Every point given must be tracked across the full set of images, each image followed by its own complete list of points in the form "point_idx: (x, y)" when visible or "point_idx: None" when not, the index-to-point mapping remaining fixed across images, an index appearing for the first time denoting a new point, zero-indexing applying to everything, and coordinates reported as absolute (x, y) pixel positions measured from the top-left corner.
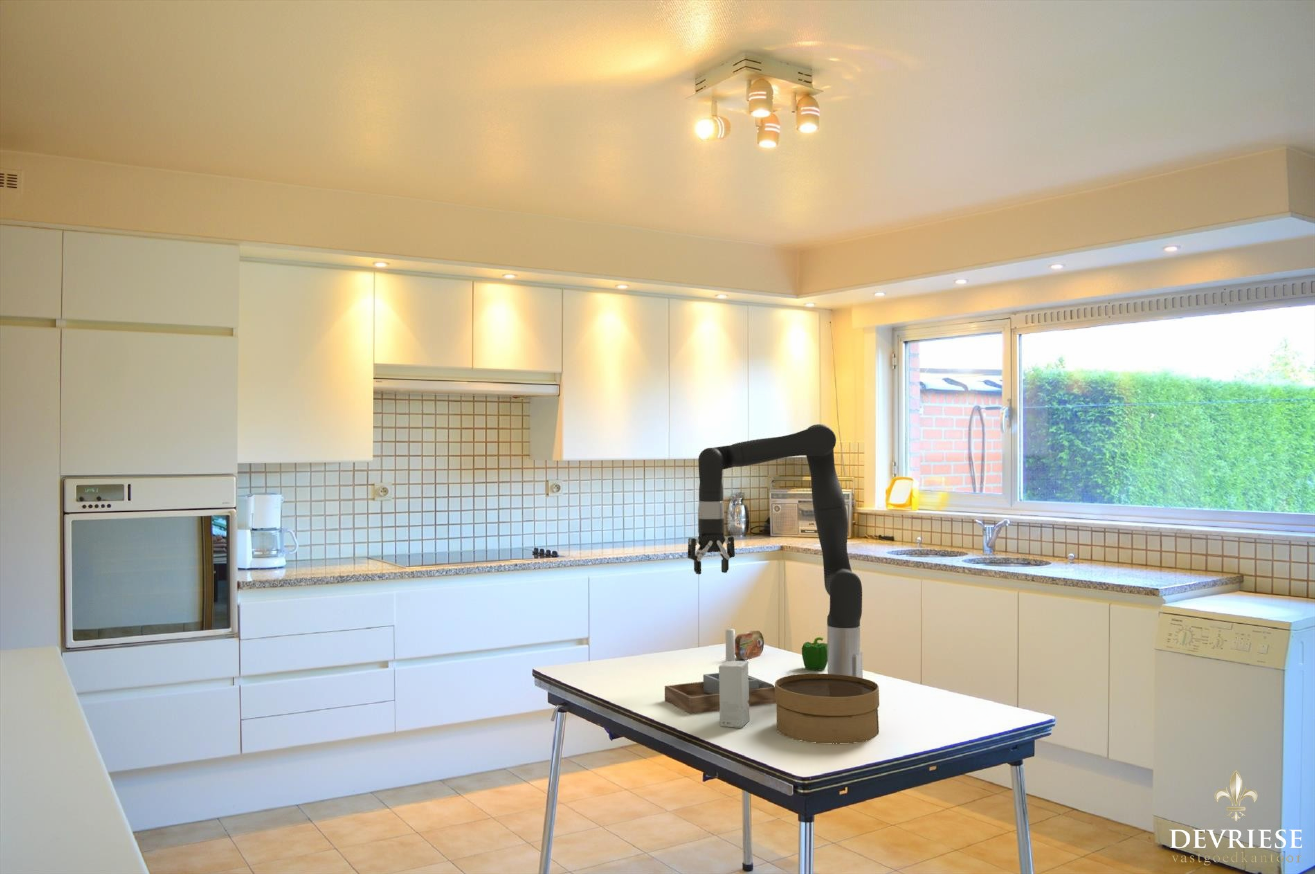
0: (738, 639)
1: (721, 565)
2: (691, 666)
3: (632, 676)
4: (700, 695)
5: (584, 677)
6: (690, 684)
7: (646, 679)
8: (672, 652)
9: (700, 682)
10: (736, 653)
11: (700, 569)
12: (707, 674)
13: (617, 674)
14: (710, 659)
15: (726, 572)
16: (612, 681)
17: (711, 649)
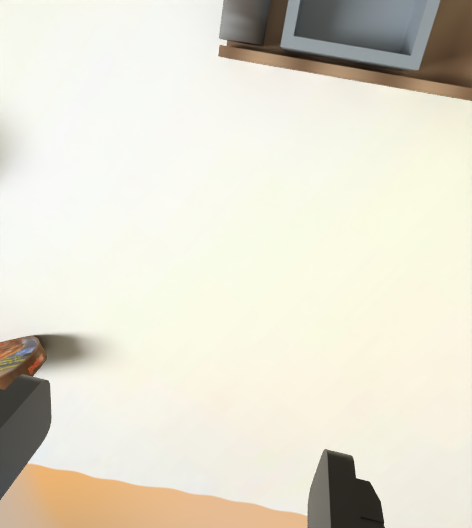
0: (14, 376)
1: (10, 484)
2: (180, 369)
3: (369, 383)
4: (430, 54)
5: (468, 443)
6: (456, 86)
7: (365, 340)
8: (135, 481)
9: (417, 79)
10: (43, 354)
11: (338, 490)
12: (405, 60)
13: (382, 417)
14: (99, 390)
15: (29, 376)
16: (449, 376)
17: (45, 451)
